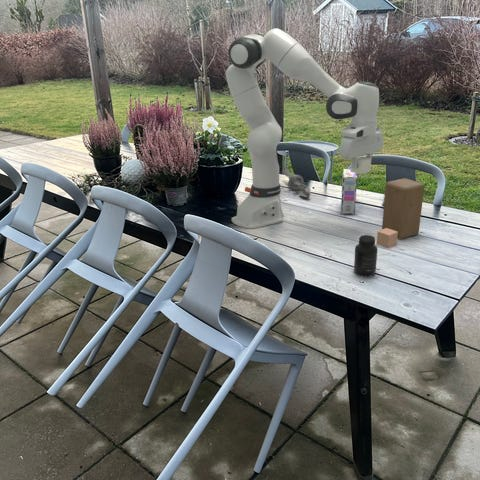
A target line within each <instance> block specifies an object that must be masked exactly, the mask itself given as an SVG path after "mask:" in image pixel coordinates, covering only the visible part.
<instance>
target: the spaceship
mask: <svg viewBox="0 0 480 480" xmlns="http://www.w3.org/2000/svg"><path fill="white" fill-rule="evenodd" d="M283 173H284V175H285V176H286V177H287V178H288V179H289V180H288V182H287V183H288V185H287V186H288V187H289V189H291V190H293V191H296V194H297V195H299V196H301V197H305V198H309V199H310V196H312V195H311V194H312V192H311V188H309V187H308V186H306V185H305V184H304V183H305V181H304V178H303V176H302V175H299V174H295V173H292V174H291V172H290V171H289V169H288V168H284V170H283Z"/></svg>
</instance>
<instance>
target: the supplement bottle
mask: <svg viewBox="0 0 480 480" xmlns="http://www.w3.org/2000/svg"><path fill="white" fill-rule="evenodd" d="M375 241H376V238H375V236H373V235H368V234H364V235H360V236H359V237H358V243H357V244H356V246H355V249H354V262H353V263H354V264H353V266H354V267H353V272H355V274H356V275H359V276H361V277H371V276H373V275H375V274H376V271H377V261H378V247H377V245H376V242H375Z"/></svg>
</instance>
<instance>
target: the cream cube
mask: <svg viewBox="0 0 480 480" xmlns="http://www.w3.org/2000/svg"><path fill="white" fill-rule="evenodd" d="M356 161H357V163H358V168H356V169H354V168H352V162H351V161H350V169H351V172H354V173H357V175H358V174H359V175H364V174H367V173H370V172H371V168H372V167H371V166H372V158H366V156H363V155H362V156H358V157H357V160H356Z"/></svg>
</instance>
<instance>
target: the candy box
mask: <svg viewBox="0 0 480 480" xmlns="http://www.w3.org/2000/svg"><path fill="white" fill-rule="evenodd" d="M341 181H342V182H341V202H340V204H341V207H340V208H341V212H340V214H341V215H355V214H356V199H357V184H358V173H354V172H351V168H343V169H342V180H341Z"/></svg>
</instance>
